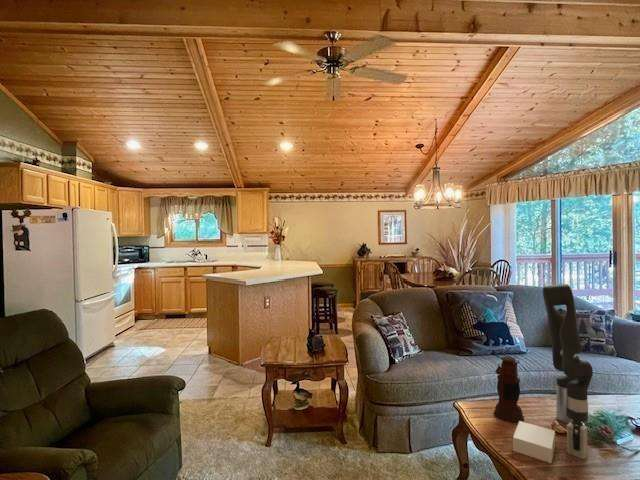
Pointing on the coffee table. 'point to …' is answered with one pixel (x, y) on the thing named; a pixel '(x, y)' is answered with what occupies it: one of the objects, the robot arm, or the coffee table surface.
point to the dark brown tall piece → (508, 392)
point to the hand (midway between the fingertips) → (576, 446)
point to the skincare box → (583, 443)
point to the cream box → (534, 441)
